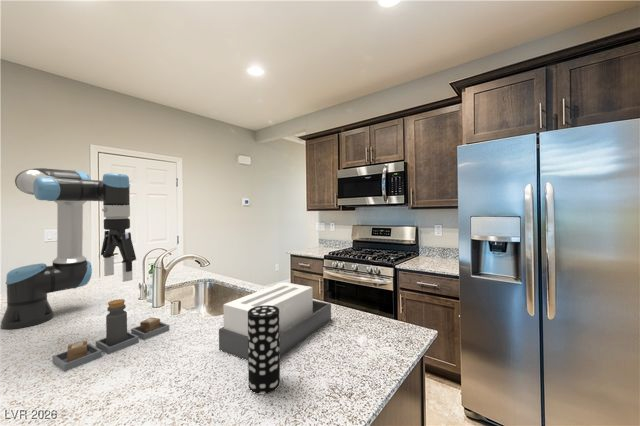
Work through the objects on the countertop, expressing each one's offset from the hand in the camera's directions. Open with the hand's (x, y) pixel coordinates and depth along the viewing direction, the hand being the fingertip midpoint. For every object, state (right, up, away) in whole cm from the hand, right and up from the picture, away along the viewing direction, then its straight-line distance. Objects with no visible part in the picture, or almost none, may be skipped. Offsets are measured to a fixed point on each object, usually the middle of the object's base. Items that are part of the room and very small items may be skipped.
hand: (118, 278), depth 99 cm
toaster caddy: (+57, -23, +7) cm, 61 cm away
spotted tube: (+56, -24, -23) cm, 65 cm away
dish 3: (+7, -23, +7) cm, 25 cm away
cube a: (+7, -22, +7) cm, 24 cm away
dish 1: (-4, -23, -12) cm, 26 cm away
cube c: (-4, -23, -12) cm, 26 cm away
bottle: (+1, -23, -2) cm, 23 cm away
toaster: (+55, -23, +6) cm, 60 cm away
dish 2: (+1, -23, -2) cm, 23 cm away
